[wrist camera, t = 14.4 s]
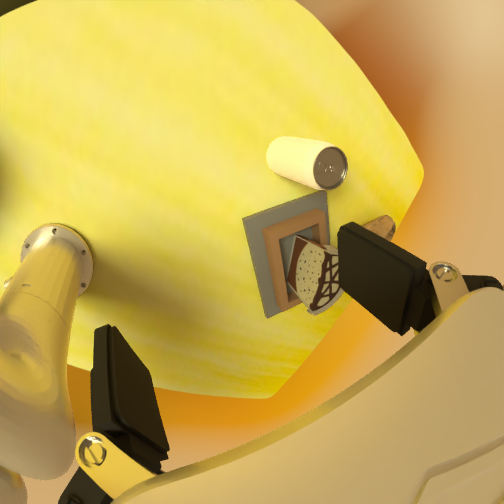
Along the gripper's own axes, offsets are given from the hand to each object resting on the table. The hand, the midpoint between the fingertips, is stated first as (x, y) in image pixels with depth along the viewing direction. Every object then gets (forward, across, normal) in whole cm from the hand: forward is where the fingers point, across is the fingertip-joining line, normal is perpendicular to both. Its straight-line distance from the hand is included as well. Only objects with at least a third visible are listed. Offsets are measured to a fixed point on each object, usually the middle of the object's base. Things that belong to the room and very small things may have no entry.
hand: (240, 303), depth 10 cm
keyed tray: (+30, -18, +22) cm, 42 cm away
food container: (+30, -20, +22) cm, 42 cm away
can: (+31, -19, +3) cm, 36 cm away
